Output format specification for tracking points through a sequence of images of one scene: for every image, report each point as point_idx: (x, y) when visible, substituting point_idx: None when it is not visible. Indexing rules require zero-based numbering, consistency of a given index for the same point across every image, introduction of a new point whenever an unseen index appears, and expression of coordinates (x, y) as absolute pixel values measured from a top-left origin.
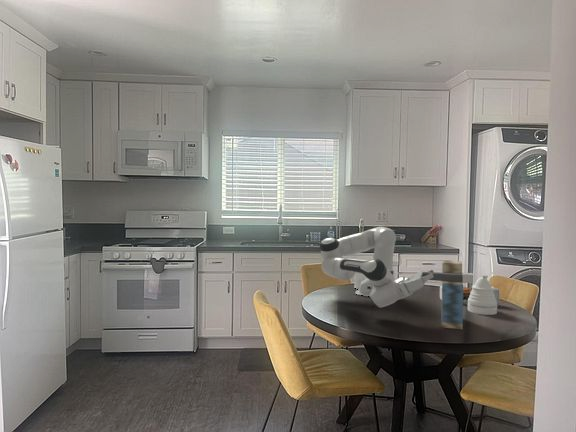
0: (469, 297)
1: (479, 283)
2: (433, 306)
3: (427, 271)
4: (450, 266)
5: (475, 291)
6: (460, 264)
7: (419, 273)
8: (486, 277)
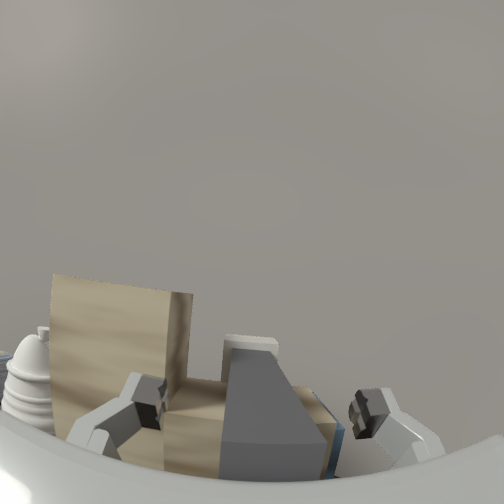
0: (17, 411)
1: (40, 359)
2: None
3: (109, 406)
4: (180, 315)
5: (37, 389)
6: (192, 298)
7: (106, 483)
8: None
